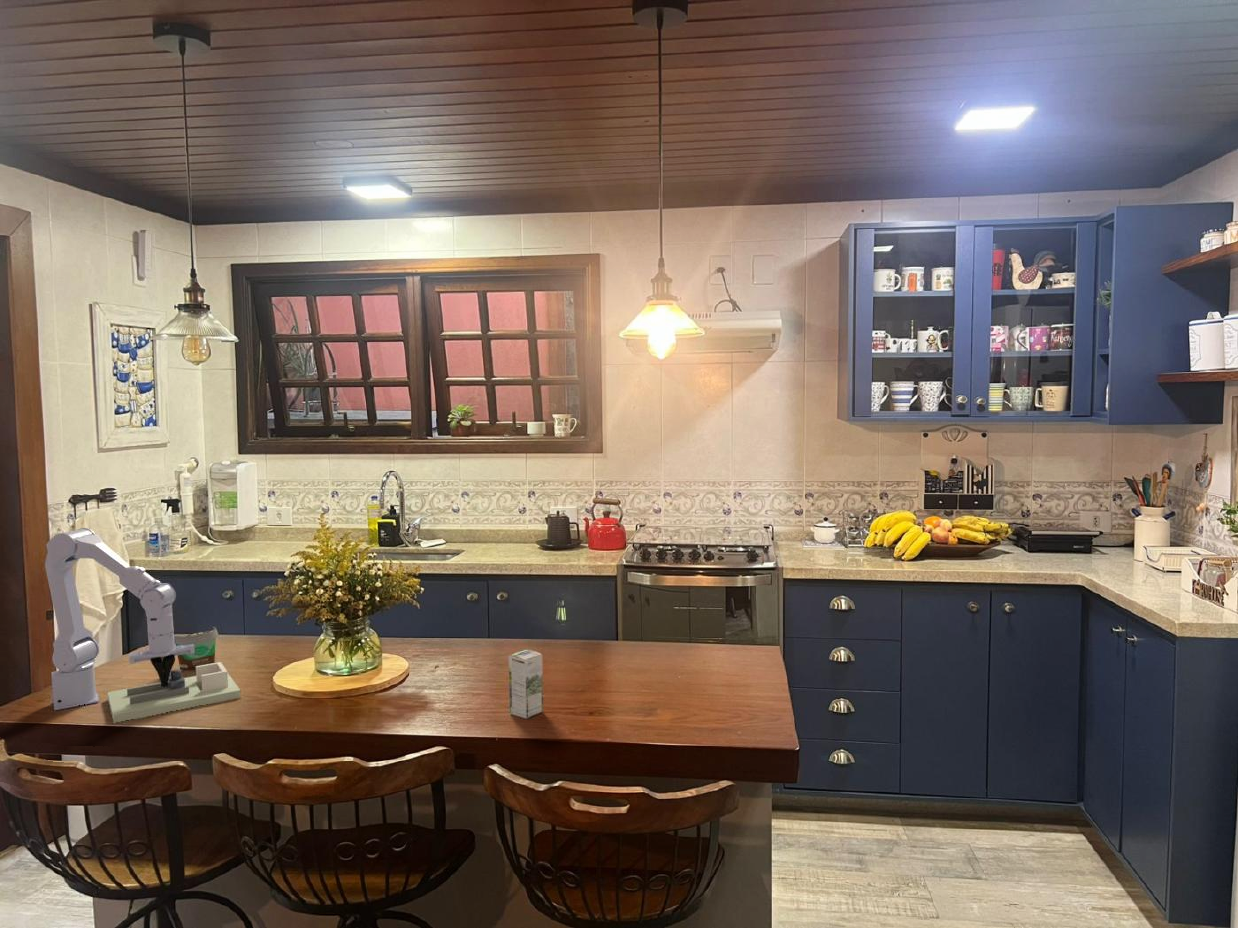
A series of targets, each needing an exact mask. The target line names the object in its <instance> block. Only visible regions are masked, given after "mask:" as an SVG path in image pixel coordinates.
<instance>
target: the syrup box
mask: <svg viewBox="0 0 1238 928" xmlns="http://www.w3.org/2000/svg"><path fill="white" fill-rule="evenodd" d="M543 674H544V673H543V654H542V653H540V652H538V651H535V650H531V649H524V650H522V651H518V652H514V653H513V654H509V655H508V680H509V682H508V683H509V713H510V715H513V716H516V717H518V718H522V719H526V720H527V719H530V718H531V717H534V716H537V715H538V714H541V713H543V712H544V692H543V691H544V688H543V685H544V684H543V680H544V679H543Z"/></svg>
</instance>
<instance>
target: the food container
mask: <svg viewBox="0 0 1238 928" xmlns="http://www.w3.org/2000/svg"><path fill="white" fill-rule="evenodd" d="M212 627H213V628H212V629H210V630H207V631H200V632H194V633H190V634H188V635H186V636H179V635H174V644H175V646H181V645H190V644H193V645H194V649H195V653H191V654H190V653H187V654H181V655H177V660H178V665H179V669H181V671H196V666H201V665H206V664H212V663H216V662H215V660H216V642H217V641H216V638H218V636H219V632H218V630H217V628H216V627H215V626H212Z"/></svg>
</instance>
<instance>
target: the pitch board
mask: <svg viewBox="0 0 1238 928" xmlns="http://www.w3.org/2000/svg"><path fill="white" fill-rule="evenodd" d="M227 674H228V687H223V688H218V689H213V690H208V691H202V681H201V682H197V678H196V675H195V676H188V677H183V678H184V680H185V687H181V688H176V689H171V690H170V689H169V680H168V686H165V687H162V686H161V682H160V681H159V682H155V683H151V684H146V685H141V686H140V685H139V686H135V687H134V686H133V687H129V688H123V689H117V690H112V691H108V692H107V702H108V706H109V705H110V706H109V709H110V710H109V711H110V713H111V717H112V722H113V724H116V723H115V722H119V723H122V722H121V721H124V722H126V721H125V720H129V719H134V720H138V718H139V719H142V718H143V719H144V718H148V716H149V717H153V716H157V714H158V715H162V714H161V713H163V714H166V712H168V713H170V712H169V711H173V712H177V711H176V710H178V711H182V710H181V709H183V710H186V709H185V708H188V709H190V707H193V708H196V707H195V706H198V707H200V706H199V705H203V706H207V705H206V704H208V705H212V704H217V703H221V702H227V701H231V700H236V699H241V698H242V694H241V689H240V688H239V686H238V685H237V684H236V682H235V681H234V679H233V678H232V677H231V675H230V674H229V671H227ZM152 715H153V716H152ZM129 721H130V720H129Z"/></svg>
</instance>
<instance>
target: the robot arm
mask: <svg viewBox="0 0 1238 928" xmlns="http://www.w3.org/2000/svg"><path fill="white" fill-rule="evenodd" d="M45 545H46V549H47V555H46V557H45V562H44V568H45V573H46V578H47V582H48V587H49V591H50V596H51V601H52V602H51V603H52V605H53V611H54V615H55V619H56V625H57V629H58V635H57V637H56V638H55V640H54V642H53V643H52V646H53V653H52V657H51V658H52V663H53V666H54V667H55V668H56V669H58V670H55V671H51V686H52V693H51V694H50V696H51V702H53V710H54V711H57V710H58V711H59V710H63V709H69V708H73V707H74V708H75V707H78V706H79V705H80V706H84V704H85V705H89V704H95V703H99V702H100V699H99V695H98V692H97V691H96V689H97V688H96V679H95V678H96V676H95V663H96V658H97V657H98V656H99V653H100V646H99V644H98V642H97V640H96V639H95V638H94V635H93V631H91V630H90V629H89V628H87V627H85V624H84V619H83V614H82V610H81V609H82V608H81V604H80V600H79V594H78V590H77V585H76V581H75V576H74V571H73V567H74V565H76V563H78V561H79V560H80V559H93V560H94V561H95V562H97V563H98V564H100V565H101V566H102V567H104V568H106V570H109V571H110V572H112V573H113V574H114V575H116V577H118V578H119V579H118V582H119V584H120V585H121V586H122V587H124V588H125V589H126V590H127V591H129V592H130V593H132V594H133V595H134V596H135V597H137V598H138V599H139V600H140V602H139V603H140V605H141V607H142V609H144V611H145V616H146V623H147V638H148V639H147V640H148V650H145V651H140V652H136V653H131V654H128V660H129V665H131V664H133V665H134V664H135V663H139V662H145V661H150V663H151V665H152V666H153V668H154V669H155V671H156V672H157V676H158V677H159V683H160V682H161V686H162V687H165V686H168V681H169V676H171V671H172V669H173V666H174V665H175V661H176V656H178V655H181V654H187V653H190V654H191V653H195V649H194V645H193V644H190V645H181V646H176V644H174V636H175V634H174V633H175V632H174V630H175V629H174V618H173V616H174V615H173V603H174V602H175V601H176V597H177V593H176V590H175V589H174V587H173V586H172V585H171V584H170V583H168V582H167V583H166V582H165V583H164V582H163V583H162V582H161V581H160V580H158V579H156V578H154V577H153V576H151V575H150V574H149V573H147V572H146V570H147V569H146V568H144V567H143V566H140V567H139V565H133V566H130V565H129V564H128V563H127V562H126V561H125V560H124V559H123V558H121V556H119V555H118V554H117V553H116V552H114V551H113V550H112V549H111V548H110V547H109V546H108V545H106V543H104V542H103V540H102V537H101V535H98V534H96V533H95V532H94V531H93V530H92V529H90V528H88V527H81V528H79V529H75V530H70V531H67V532H59V533H57V534H55V535H53V536H52V537H51V538H50V540H48V542H46V544H45Z"/></svg>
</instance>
